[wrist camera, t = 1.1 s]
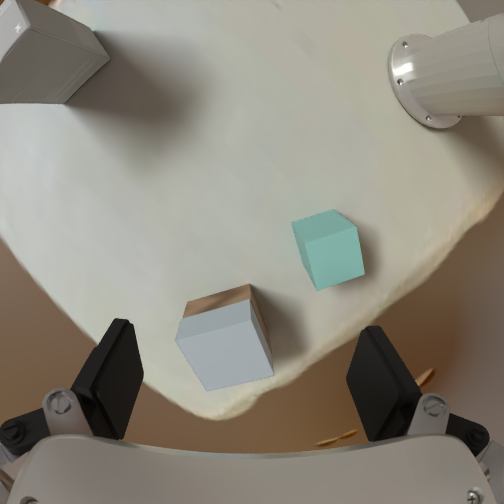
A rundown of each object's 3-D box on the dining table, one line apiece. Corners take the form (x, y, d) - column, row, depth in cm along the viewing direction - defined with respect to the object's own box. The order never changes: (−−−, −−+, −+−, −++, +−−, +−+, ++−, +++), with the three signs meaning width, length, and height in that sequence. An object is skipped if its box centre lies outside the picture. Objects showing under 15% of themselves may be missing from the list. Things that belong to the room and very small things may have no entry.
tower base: (249, 282, 34) (250, 299, 31) (268, 333, 37) (271, 353, 33) (187, 300, 35) (182, 318, 31) (211, 348, 38) (209, 368, 34)
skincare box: (92, 28, 22) (15, -18, 7) (115, 64, 24) (33, 21, 9) (43, 75, 23) (-45, 59, 8) (63, 112, 26) (-34, 108, 11)
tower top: (249, 298, 31) (251, 319, 27) (270, 352, 33) (274, 375, 30) (181, 318, 31) (174, 340, 27) (209, 368, 34) (206, 391, 30)
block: (333, 209, 31) (356, 226, 25) (342, 249, 33) (364, 274, 27) (291, 222, 32) (304, 243, 25) (302, 262, 33) (316, 290, 27)
